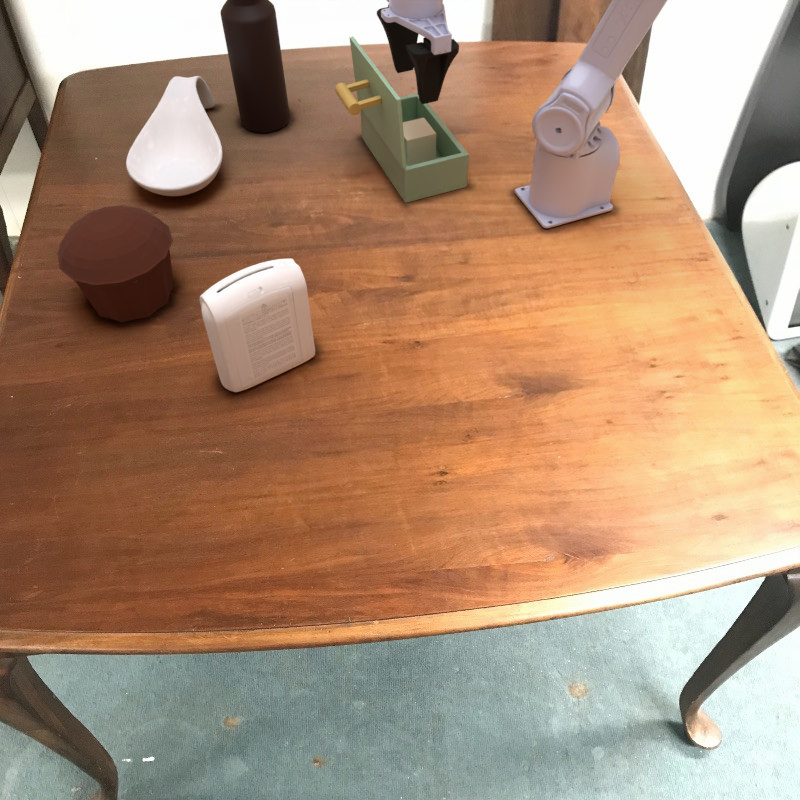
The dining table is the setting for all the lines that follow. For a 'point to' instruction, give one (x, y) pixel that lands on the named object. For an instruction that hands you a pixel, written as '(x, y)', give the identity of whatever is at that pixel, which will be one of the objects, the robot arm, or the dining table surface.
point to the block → (419, 141)
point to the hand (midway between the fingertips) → (416, 85)
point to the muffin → (119, 261)
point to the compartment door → (374, 101)
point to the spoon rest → (177, 142)
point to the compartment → (424, 176)
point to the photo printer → (258, 323)
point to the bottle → (256, 63)
